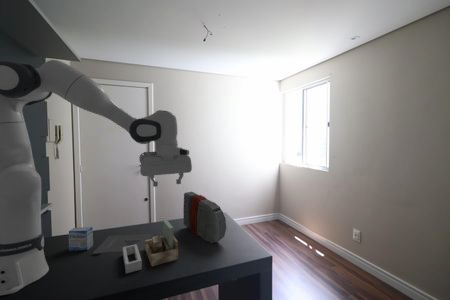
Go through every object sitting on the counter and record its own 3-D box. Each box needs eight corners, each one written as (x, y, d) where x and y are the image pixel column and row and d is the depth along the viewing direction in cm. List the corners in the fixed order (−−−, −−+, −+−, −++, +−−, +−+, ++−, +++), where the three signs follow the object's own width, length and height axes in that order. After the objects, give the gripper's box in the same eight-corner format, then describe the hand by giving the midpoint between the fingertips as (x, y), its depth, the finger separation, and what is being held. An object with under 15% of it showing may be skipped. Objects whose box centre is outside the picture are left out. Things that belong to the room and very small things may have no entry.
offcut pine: (153, 248, 84) (153, 242, 84) (152, 241, 89) (152, 236, 89) (161, 246, 85) (161, 241, 85) (159, 240, 91) (159, 235, 90)
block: (169, 258, 85) (169, 228, 84) (163, 247, 94) (163, 220, 93) (173, 257, 86) (173, 227, 85) (167, 246, 94) (166, 219, 94)
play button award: (109, 235, 105) (151, 233, 107) (109, 238, 105) (151, 236, 107) (92, 252, 89) (142, 250, 91) (92, 256, 89) (142, 254, 91)
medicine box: (68, 251, 93) (67, 231, 92) (75, 246, 97) (74, 227, 97) (87, 250, 93) (87, 230, 93) (93, 245, 97) (92, 226, 97)
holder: (126, 275, 75) (125, 264, 75) (123, 256, 88) (122, 247, 87) (141, 271, 78) (141, 260, 78) (136, 253, 90) (136, 244, 90)
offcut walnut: (155, 255, 83) (155, 249, 83) (150, 247, 89) (150, 242, 89) (163, 252, 85) (163, 247, 85) (158, 245, 91) (158, 240, 91)
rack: (151, 268, 80) (151, 247, 79) (145, 251, 92) (144, 233, 91) (178, 260, 84) (177, 241, 84) (168, 245, 97) (168, 228, 96)
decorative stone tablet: (182, 191, 113) (217, 210, 91) (192, 189, 118) (229, 207, 95) (181, 226, 116) (215, 253, 93) (191, 223, 120) (227, 248, 97)
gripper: (140, 152, 80) (141, 189, 80) (192, 150, 90) (193, 183, 90) (138, 151, 85) (139, 186, 86) (187, 150, 95) (188, 181, 96)
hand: (167, 185), depth 88 cm, fingers open, 8 cm apart
